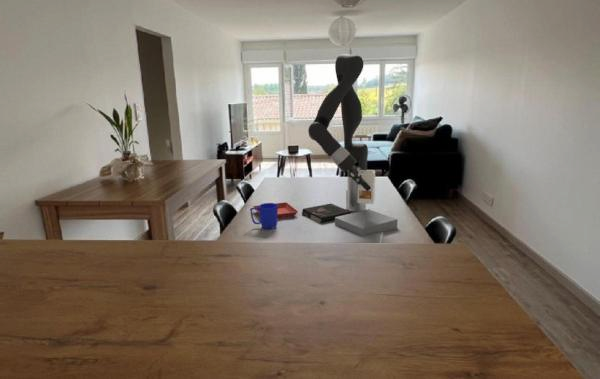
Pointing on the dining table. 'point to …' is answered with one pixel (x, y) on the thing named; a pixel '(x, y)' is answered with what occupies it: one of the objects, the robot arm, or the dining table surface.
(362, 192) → the block
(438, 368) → the dining table surface
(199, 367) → the dining table surface
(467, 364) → the dining table surface
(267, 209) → the mug
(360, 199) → the white hollow square box
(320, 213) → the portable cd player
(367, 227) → the dock
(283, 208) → the plant saucer
